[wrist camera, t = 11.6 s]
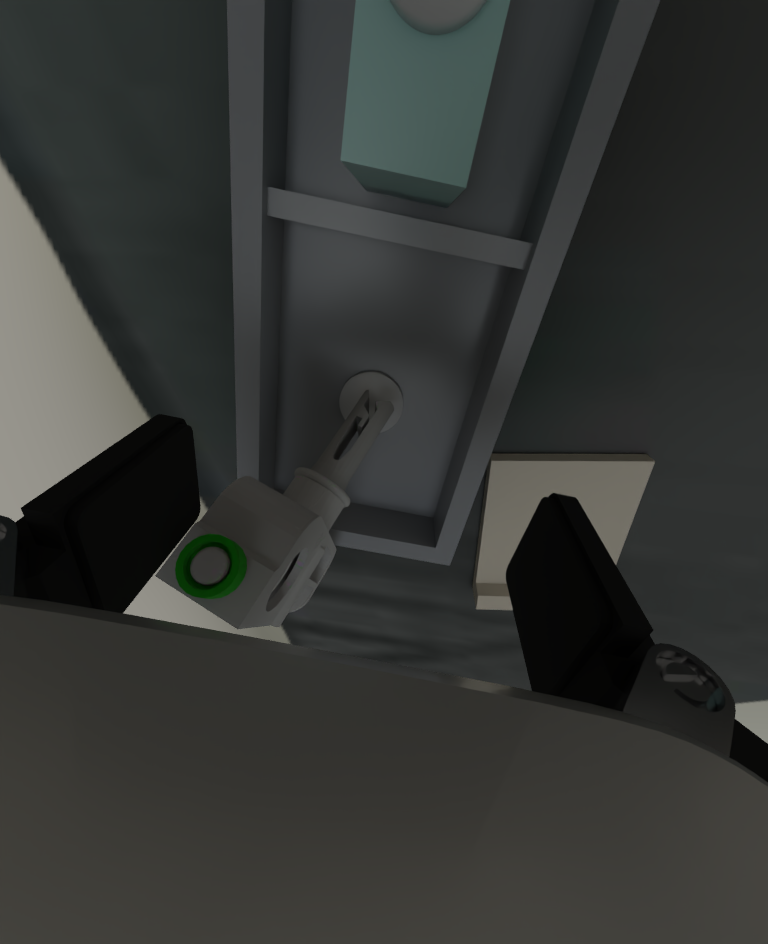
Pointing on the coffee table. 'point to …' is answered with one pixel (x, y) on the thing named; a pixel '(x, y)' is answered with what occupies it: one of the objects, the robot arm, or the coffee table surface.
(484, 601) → the lid plate
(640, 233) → the coffee table surface
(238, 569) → the mechanical component
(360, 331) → the housing
